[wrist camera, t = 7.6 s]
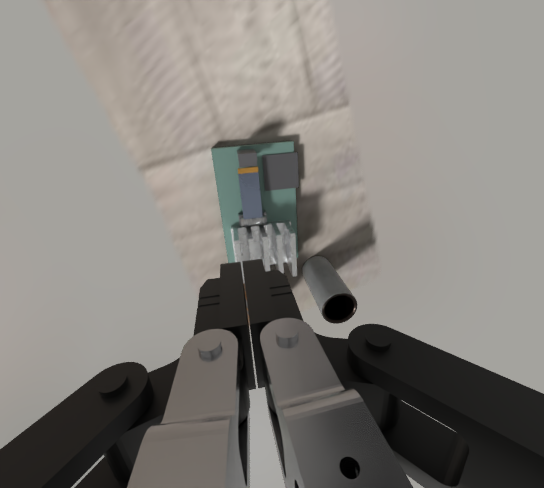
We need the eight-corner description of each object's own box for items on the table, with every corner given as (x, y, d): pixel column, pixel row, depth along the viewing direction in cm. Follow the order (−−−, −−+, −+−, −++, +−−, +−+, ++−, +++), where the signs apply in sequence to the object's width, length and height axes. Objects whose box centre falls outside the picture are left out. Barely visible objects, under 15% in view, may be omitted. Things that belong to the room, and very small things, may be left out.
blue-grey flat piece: (234, 168, 35) (234, 169, 34) (260, 165, 36) (261, 166, 35) (241, 225, 38) (241, 228, 37) (265, 222, 38) (266, 225, 37)
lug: (236, 150, 35) (238, 154, 32) (253, 148, 36) (256, 152, 32) (238, 163, 36) (239, 168, 32) (254, 161, 36) (257, 167, 33)
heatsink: (228, 214, 38) (229, 227, 34) (288, 207, 39) (297, 219, 35) (236, 265, 42) (237, 284, 37) (291, 258, 43) (299, 275, 38)
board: (211, 147, 36) (211, 149, 35) (294, 140, 37) (297, 141, 36) (228, 262, 43) (229, 267, 41) (299, 253, 44) (301, 257, 42)
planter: (335, 271, 46) (363, 311, 37) (310, 286, 46) (331, 329, 37) (322, 250, 44) (348, 286, 35) (296, 265, 45) (315, 306, 35)
